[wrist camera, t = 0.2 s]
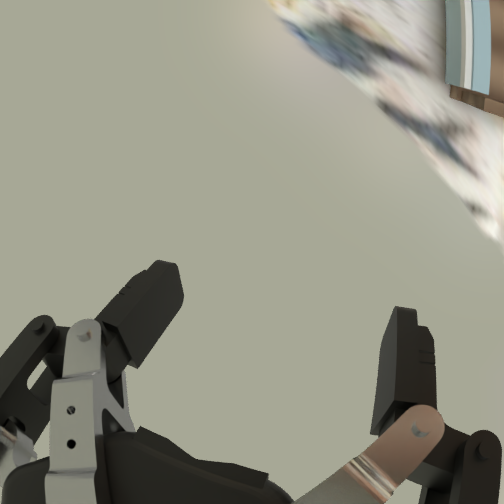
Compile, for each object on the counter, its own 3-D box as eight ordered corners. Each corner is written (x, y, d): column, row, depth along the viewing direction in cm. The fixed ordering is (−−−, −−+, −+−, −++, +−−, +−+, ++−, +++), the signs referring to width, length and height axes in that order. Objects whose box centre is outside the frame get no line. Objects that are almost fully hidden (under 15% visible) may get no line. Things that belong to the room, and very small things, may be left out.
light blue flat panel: (437, -29, 16) (458, -56, 9) (455, -24, 16) (482, -48, 9) (439, 81, 24) (465, 88, 17) (458, 86, 23) (488, 95, 16)
